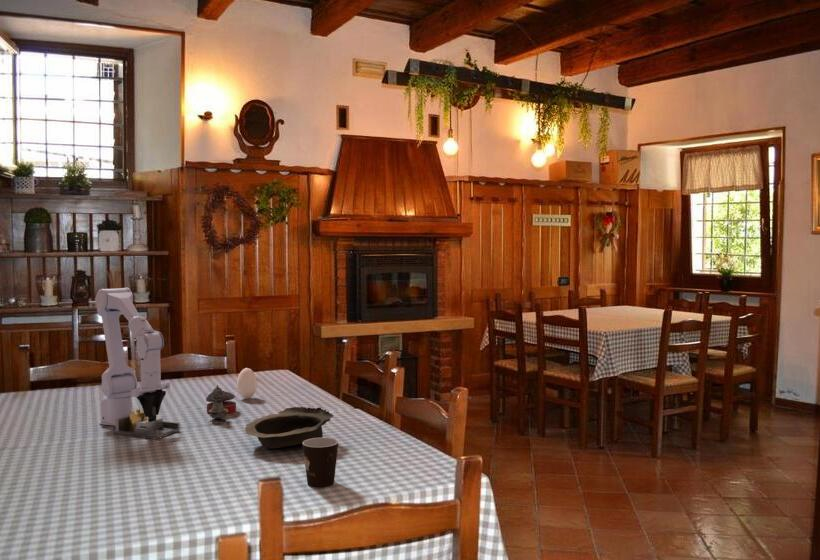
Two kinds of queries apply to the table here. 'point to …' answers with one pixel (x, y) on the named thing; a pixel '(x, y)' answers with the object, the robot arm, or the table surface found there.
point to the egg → (246, 383)
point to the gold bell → (136, 418)
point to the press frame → (145, 429)
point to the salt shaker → (217, 407)
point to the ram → (151, 421)
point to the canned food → (223, 402)
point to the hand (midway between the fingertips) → (151, 415)
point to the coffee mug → (320, 461)
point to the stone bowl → (289, 426)
